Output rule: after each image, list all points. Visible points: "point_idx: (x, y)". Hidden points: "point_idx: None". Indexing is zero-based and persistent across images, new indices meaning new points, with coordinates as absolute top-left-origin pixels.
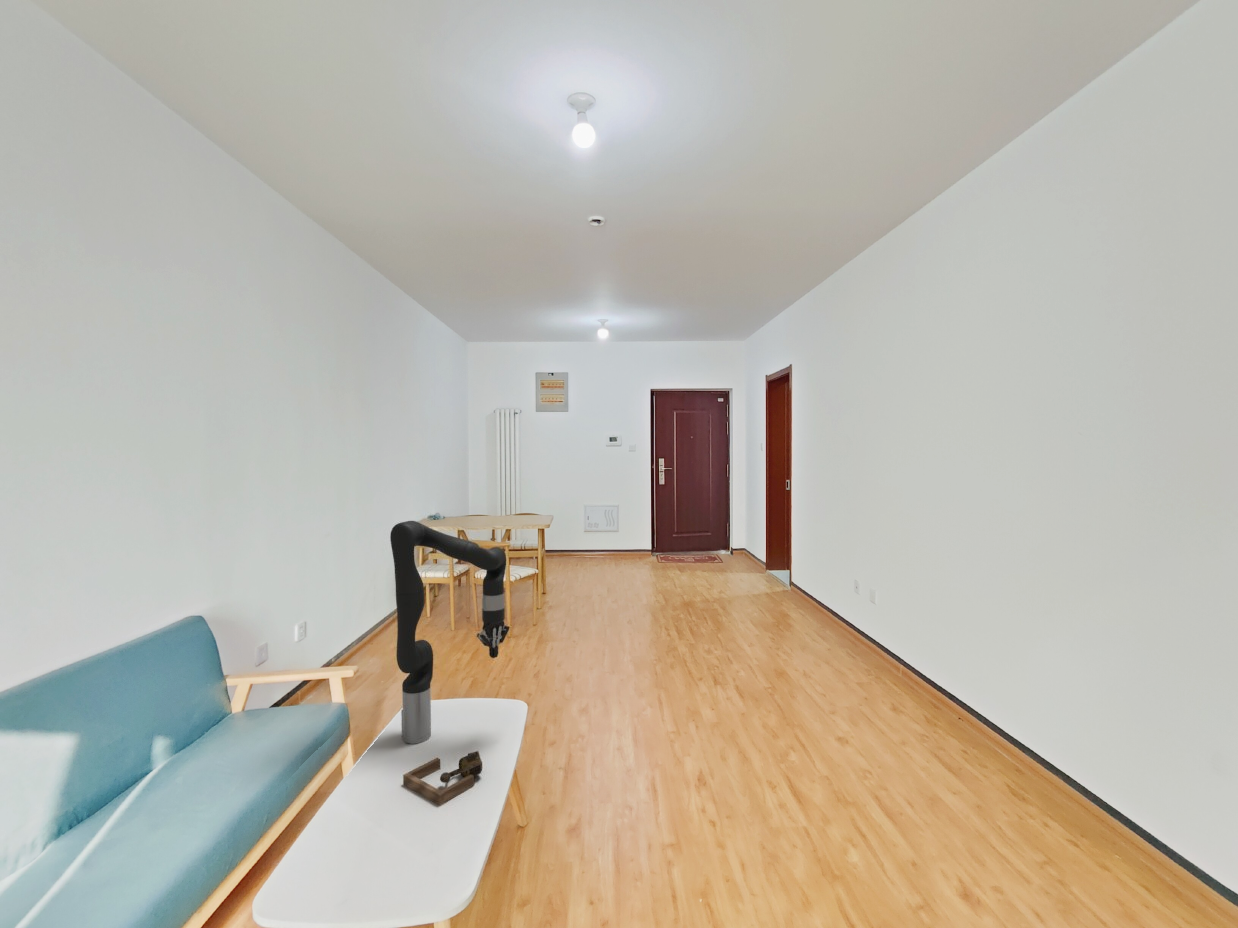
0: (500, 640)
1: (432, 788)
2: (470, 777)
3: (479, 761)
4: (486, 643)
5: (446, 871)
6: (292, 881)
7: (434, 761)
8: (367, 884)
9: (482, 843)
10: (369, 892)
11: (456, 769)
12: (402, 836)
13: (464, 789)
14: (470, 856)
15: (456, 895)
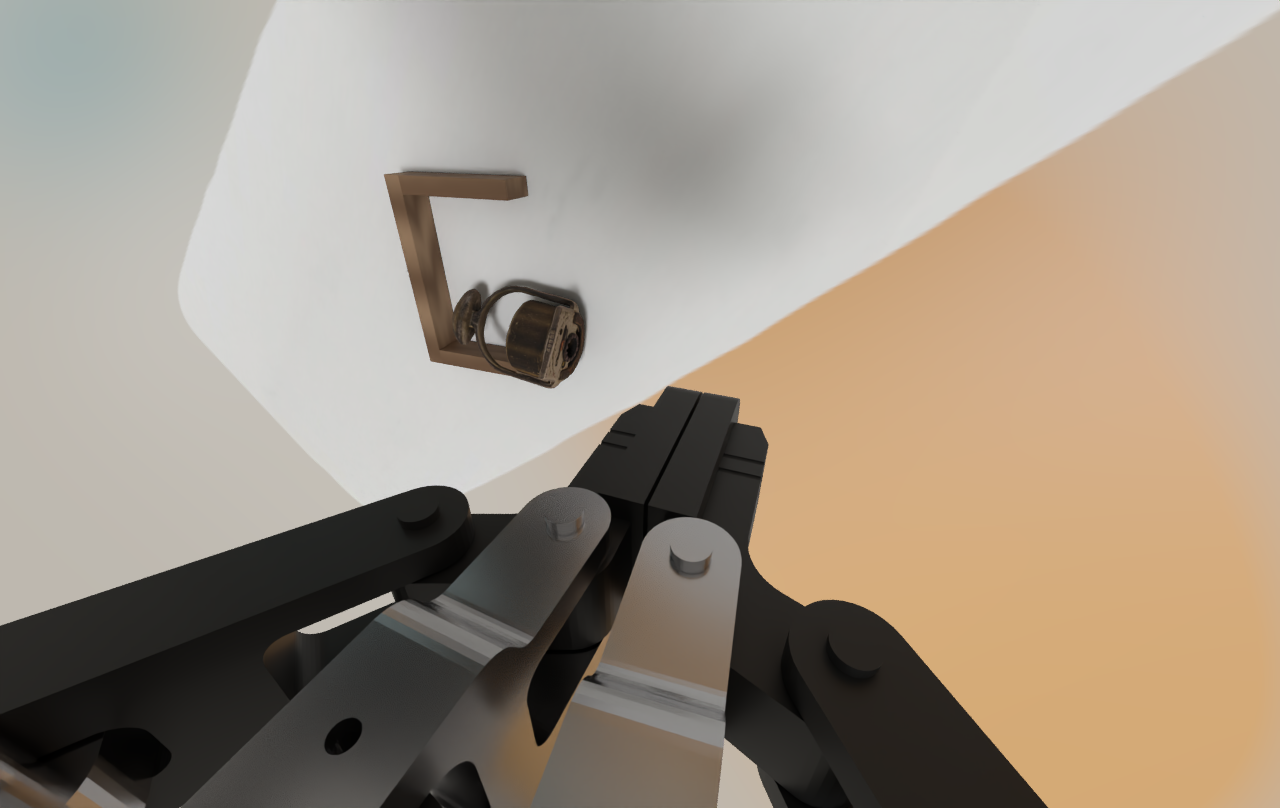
0: (766, 767)
1: (427, 321)
2: None
3: (546, 385)
4: (326, 655)
5: (396, 480)
6: (202, 283)
7: (487, 195)
8: (300, 396)
9: None
10: (301, 411)
11: (528, 292)
12: (361, 357)
13: None
14: None
15: None
